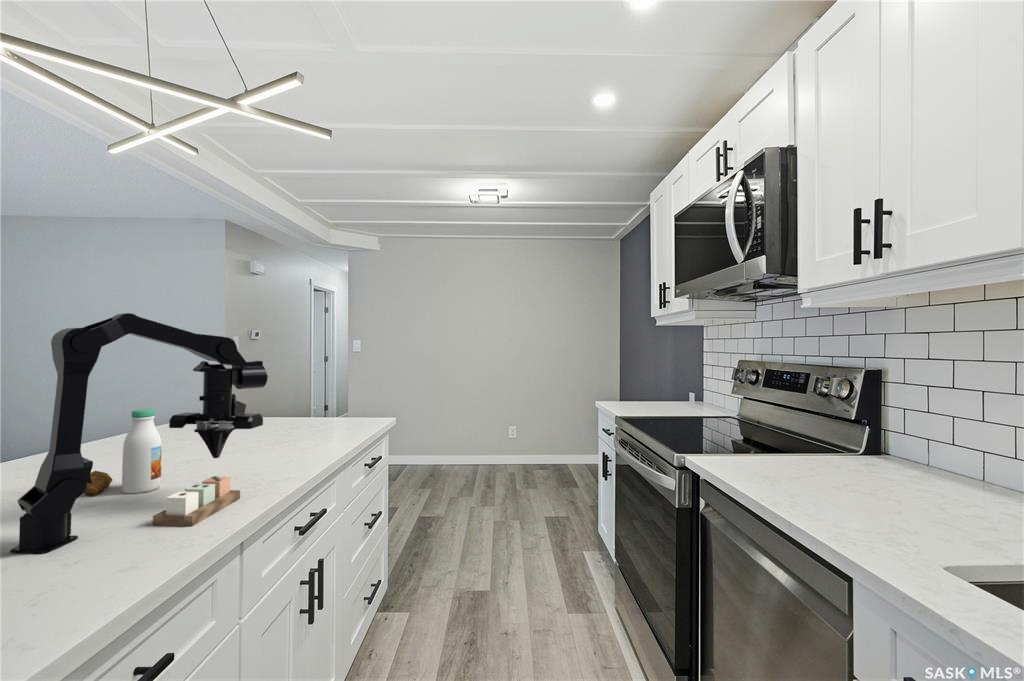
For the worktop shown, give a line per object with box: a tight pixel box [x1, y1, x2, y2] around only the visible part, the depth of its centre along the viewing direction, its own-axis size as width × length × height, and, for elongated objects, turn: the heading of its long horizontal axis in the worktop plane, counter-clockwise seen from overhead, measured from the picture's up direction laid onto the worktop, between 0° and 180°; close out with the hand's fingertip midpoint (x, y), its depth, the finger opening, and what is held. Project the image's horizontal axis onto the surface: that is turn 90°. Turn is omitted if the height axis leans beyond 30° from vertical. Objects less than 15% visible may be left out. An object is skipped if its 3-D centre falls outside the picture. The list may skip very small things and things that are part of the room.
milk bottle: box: [121, 408, 162, 494], centre depth 119 cm, size 8×8×20 cm
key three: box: [201, 475, 231, 497], centre depth 110 cm, size 4×4×4 cm
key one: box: [165, 491, 199, 515], centre depth 99 cm, size 4×4×4 cm
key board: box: [152, 489, 241, 527], centre depth 105 cm, size 17×8×2 cm, turn 0°
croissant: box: [84, 470, 113, 497], centre depth 118 cm, size 14×7×5 cm, turn 37°
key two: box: [184, 483, 215, 506], centre depth 105 cm, size 4×4×4 cm
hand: (216, 457), depth 110 cm, fingers closed
